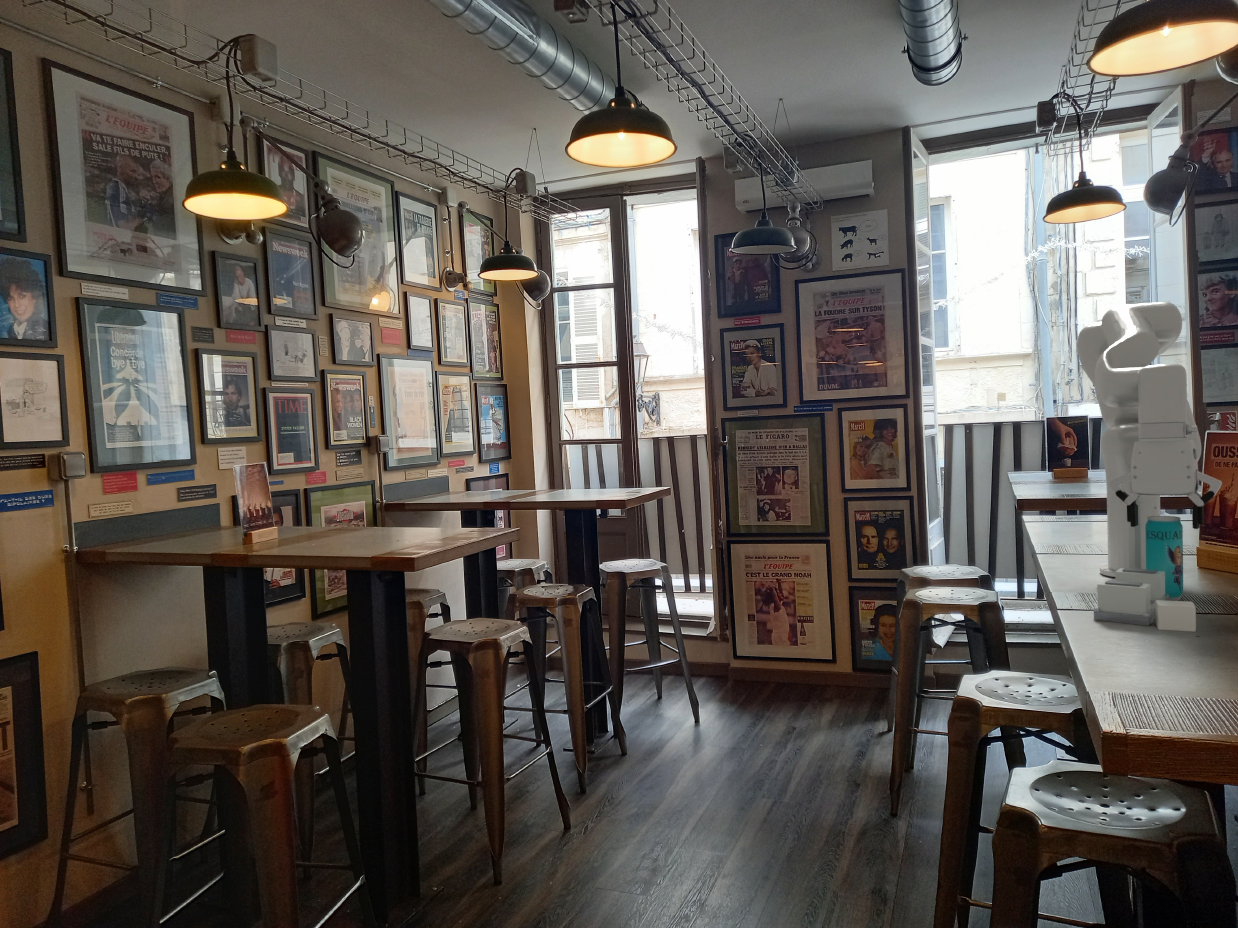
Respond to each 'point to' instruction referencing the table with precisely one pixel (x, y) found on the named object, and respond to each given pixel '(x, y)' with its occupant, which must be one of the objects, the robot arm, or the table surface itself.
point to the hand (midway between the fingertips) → (1164, 527)
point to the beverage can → (1166, 551)
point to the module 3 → (1175, 615)
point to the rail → (1129, 615)
